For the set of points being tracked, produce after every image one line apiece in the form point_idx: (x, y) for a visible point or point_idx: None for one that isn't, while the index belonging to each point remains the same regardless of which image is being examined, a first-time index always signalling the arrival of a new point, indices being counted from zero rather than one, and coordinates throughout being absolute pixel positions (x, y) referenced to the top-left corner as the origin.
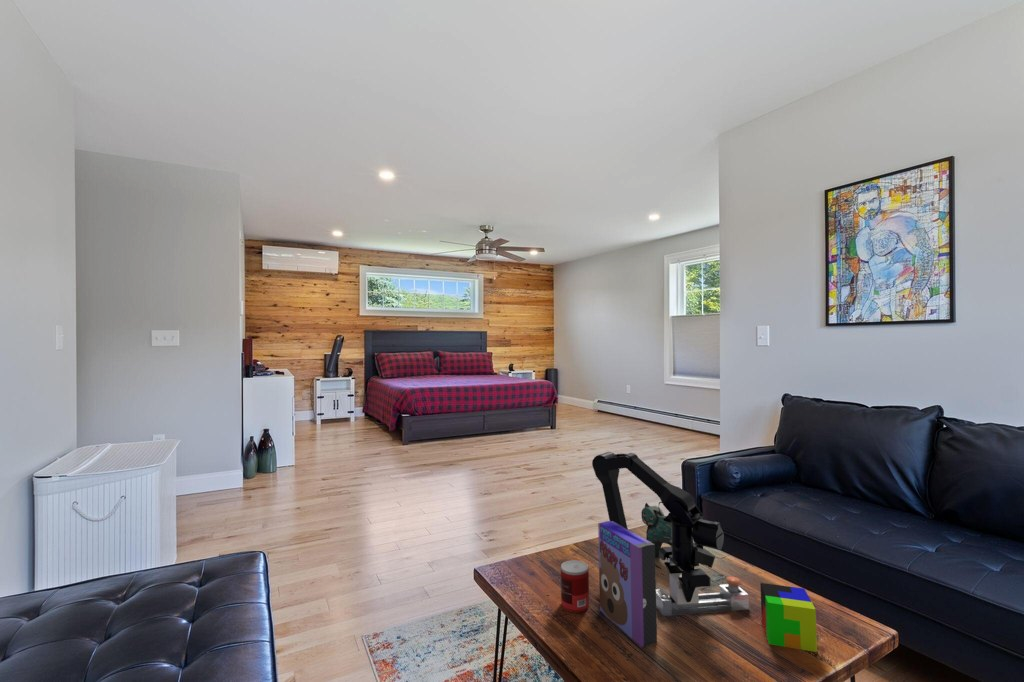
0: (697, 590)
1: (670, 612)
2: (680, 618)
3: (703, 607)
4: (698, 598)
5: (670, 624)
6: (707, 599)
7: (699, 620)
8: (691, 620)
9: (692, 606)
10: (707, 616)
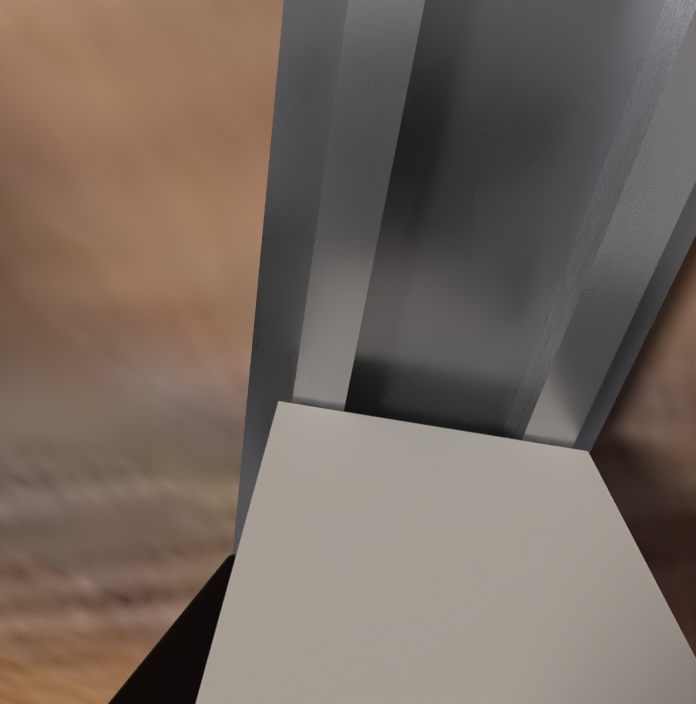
0: (691, 686)
1: None
2: None
3: (626, 369)
4: (618, 512)
5: None
6: (464, 129)
7: (687, 470)
8: (634, 536)
9: None
10: (686, 333)
